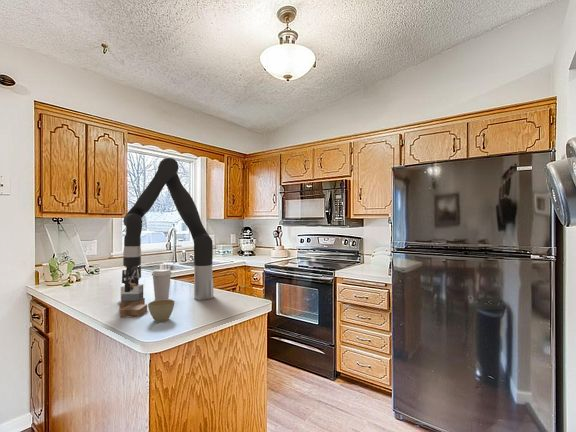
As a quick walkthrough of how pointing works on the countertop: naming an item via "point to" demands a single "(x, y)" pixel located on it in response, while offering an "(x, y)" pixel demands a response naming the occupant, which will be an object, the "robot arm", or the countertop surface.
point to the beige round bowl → (161, 309)
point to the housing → (132, 293)
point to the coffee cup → (161, 283)
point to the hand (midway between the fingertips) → (131, 289)
